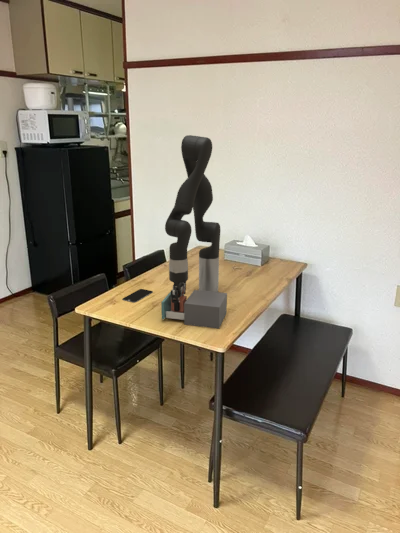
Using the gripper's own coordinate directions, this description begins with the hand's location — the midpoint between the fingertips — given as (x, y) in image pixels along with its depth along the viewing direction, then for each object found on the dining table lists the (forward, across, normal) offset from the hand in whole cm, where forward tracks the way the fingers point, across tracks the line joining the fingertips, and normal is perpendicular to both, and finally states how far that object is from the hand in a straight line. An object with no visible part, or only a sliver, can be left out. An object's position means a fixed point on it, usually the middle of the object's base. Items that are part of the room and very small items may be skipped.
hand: (178, 308), depth 177 cm
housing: (+3, 0, +12) cm, 12 cm away
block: (+1, 0, 0) cm, 1 cm away
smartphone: (+4, -16, -24) cm, 29 cm away
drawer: (+2, 0, +1) cm, 3 cm away
